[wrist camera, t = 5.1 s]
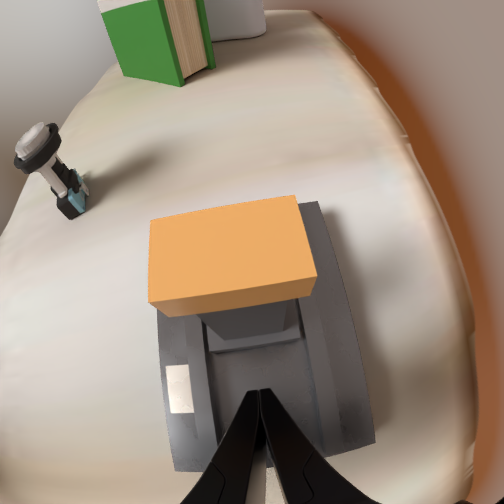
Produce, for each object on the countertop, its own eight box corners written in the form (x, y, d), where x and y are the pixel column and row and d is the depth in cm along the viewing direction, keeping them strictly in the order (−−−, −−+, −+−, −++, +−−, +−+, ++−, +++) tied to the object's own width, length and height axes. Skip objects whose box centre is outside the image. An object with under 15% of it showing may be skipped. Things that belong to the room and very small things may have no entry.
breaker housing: (365, 437, 14) (382, 446, 11) (184, 463, 14) (168, 476, 11) (314, 216, 22) (319, 190, 19) (166, 241, 22) (151, 219, 19)
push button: (62, 187, 26) (18, 130, 18) (97, 167, 27) (57, 102, 18) (60, 229, 24) (2, 169, 15) (99, 207, 24) (46, 135, 15)
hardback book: (215, 67, 36) (192, -64, 15) (180, 87, 34) (144, -56, 12) (154, 58, 42) (126, -39, 21) (124, 76, 40) (89, -25, 18)
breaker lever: (299, 340, 15) (330, 280, 7) (213, 353, 15) (138, 310, 7) (289, 291, 17) (302, 188, 8) (208, 304, 17) (142, 216, 8)
